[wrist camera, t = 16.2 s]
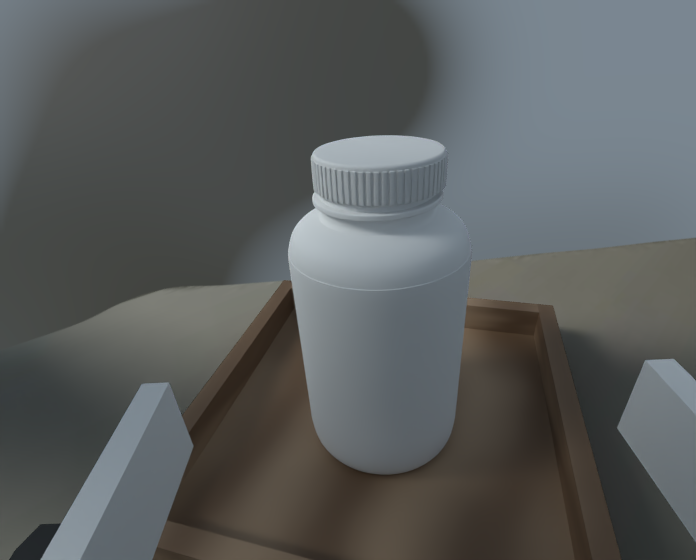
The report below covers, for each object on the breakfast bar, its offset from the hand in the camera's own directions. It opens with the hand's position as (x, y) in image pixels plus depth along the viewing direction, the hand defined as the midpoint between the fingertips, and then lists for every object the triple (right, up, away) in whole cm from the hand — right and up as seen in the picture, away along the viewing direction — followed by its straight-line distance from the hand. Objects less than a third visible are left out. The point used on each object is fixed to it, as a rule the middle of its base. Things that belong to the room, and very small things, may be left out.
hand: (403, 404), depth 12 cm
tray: (0, -5, +12) cm, 13 cm away
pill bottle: (0, -4, +12) cm, 13 cm away
